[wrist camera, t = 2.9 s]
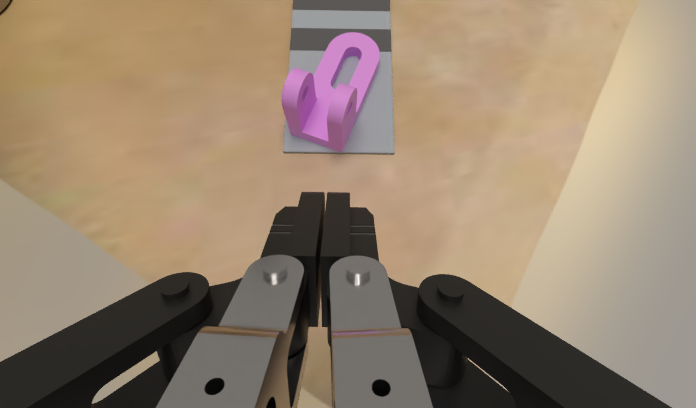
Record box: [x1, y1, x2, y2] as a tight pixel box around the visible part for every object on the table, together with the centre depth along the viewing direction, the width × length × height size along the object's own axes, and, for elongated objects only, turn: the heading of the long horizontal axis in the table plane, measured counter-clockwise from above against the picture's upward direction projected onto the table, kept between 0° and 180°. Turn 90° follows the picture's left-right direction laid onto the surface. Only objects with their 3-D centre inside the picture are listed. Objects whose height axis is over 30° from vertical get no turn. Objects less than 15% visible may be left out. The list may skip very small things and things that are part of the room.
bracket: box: [282, 32, 380, 152], centre depth 35 cm, size 13×6×7 cm, turn 159°
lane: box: [283, 0, 394, 154], centre depth 41 cm, size 11×36×2 cm, turn 179°
